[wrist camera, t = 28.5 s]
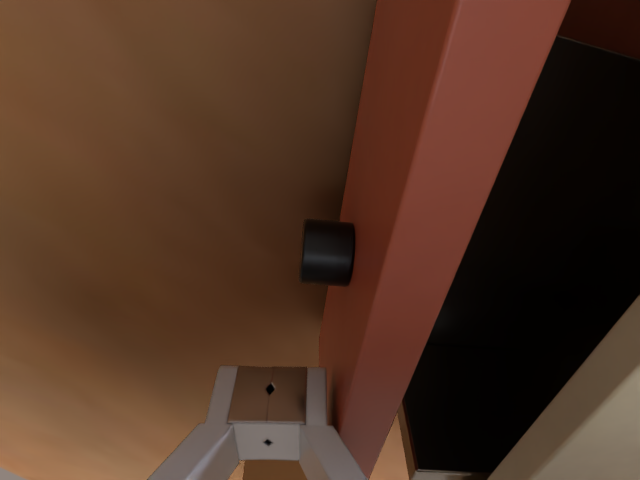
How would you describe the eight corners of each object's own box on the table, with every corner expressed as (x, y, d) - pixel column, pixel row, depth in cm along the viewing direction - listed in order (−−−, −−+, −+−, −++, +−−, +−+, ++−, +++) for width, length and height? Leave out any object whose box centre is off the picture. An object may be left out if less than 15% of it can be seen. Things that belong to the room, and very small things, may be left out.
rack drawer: (289, 337, 16) (278, 497, 11) (334, -93, 8) (358, -181, 3) (604, 359, 17) (718, 515, 12) (920, -4, 9) (1607, 33, 4)
